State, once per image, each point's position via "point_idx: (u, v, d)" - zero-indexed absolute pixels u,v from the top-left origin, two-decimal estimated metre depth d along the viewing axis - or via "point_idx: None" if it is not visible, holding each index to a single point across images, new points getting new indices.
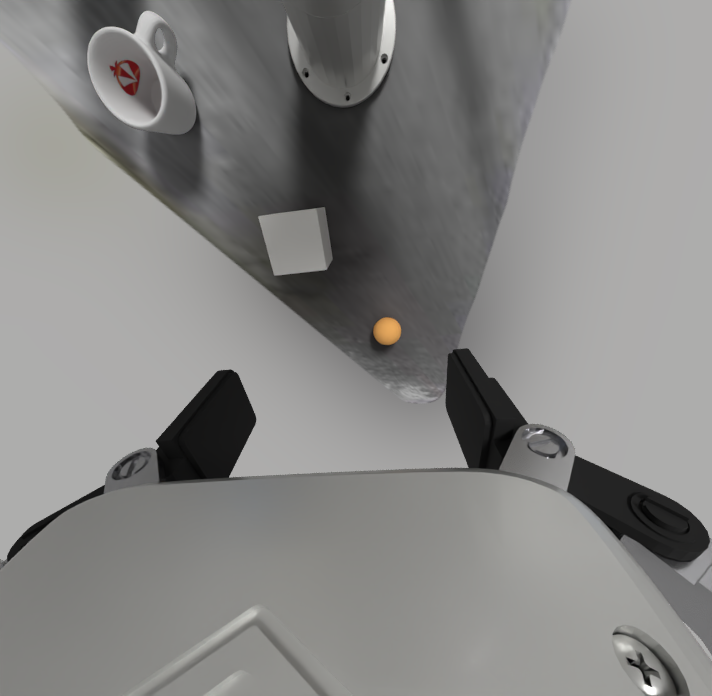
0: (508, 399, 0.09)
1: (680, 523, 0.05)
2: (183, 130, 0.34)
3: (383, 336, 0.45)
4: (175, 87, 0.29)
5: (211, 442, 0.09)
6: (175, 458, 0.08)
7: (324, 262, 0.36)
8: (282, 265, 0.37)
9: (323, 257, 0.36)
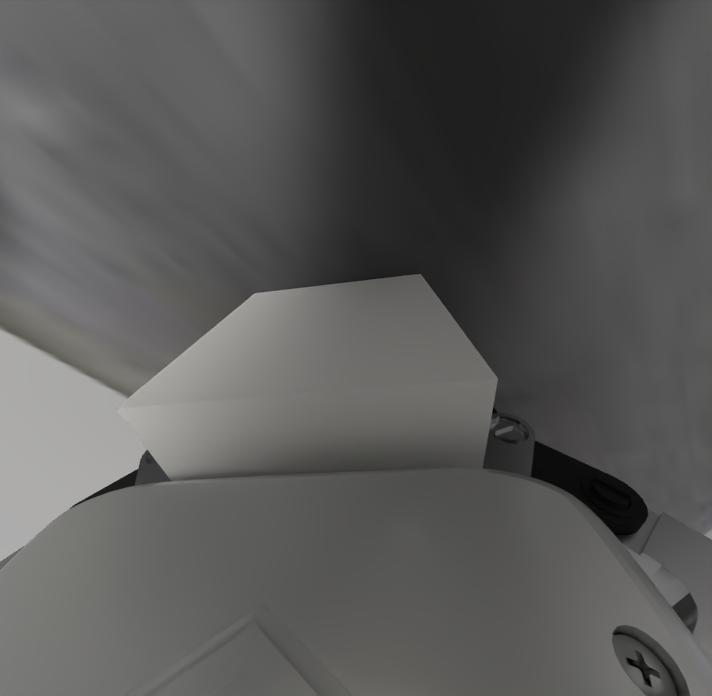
0: None
1: (623, 500, 0.05)
2: None
3: None
4: None
5: None
6: None
7: None
8: None
9: None
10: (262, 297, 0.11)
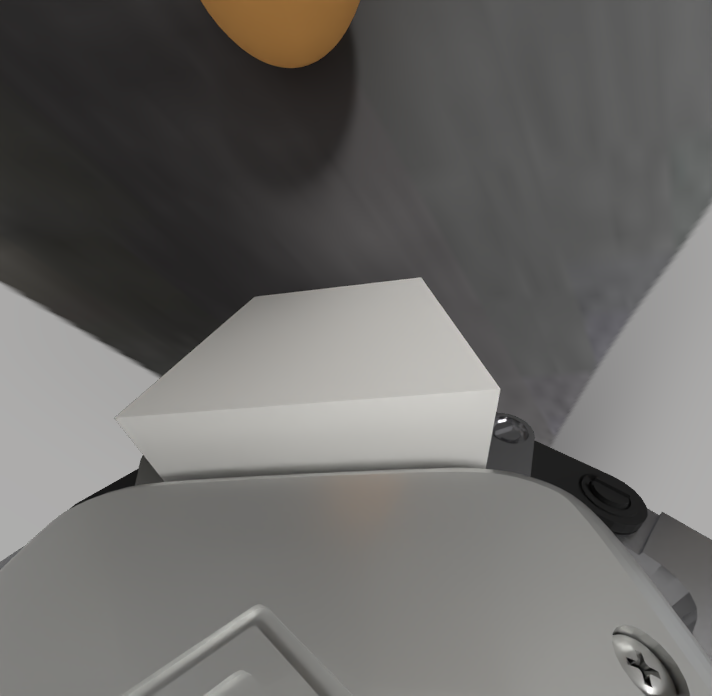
0: None
1: (622, 500, 0.05)
2: None
3: (241, 0, 0.06)
4: None
5: None
6: None
7: None
8: None
9: None
10: (262, 301, 0.11)
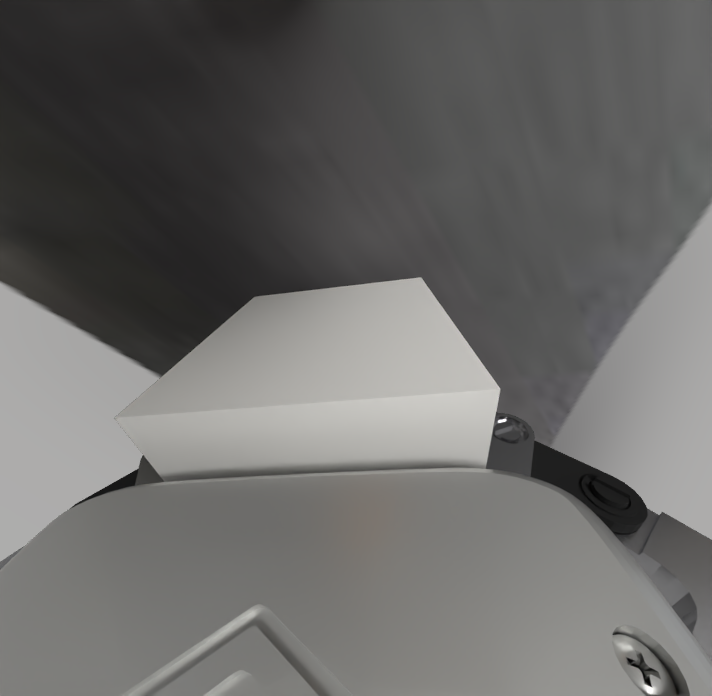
0: None
1: (622, 500, 0.05)
2: None
3: None
4: None
5: None
6: None
7: None
8: None
9: None
10: (262, 301, 0.11)
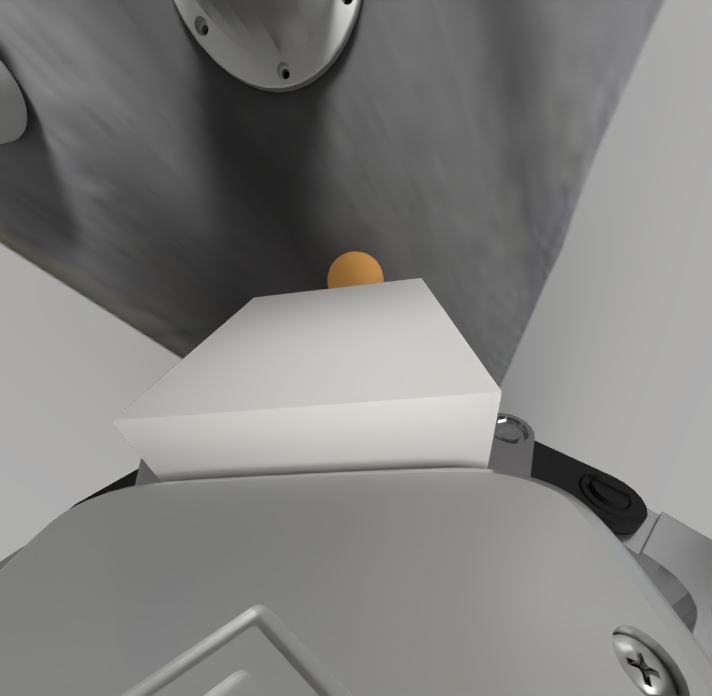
0: None
1: (622, 500, 0.05)
2: None
3: (342, 264, 0.21)
4: None
5: None
6: None
7: None
8: None
9: None
10: (262, 301, 0.11)
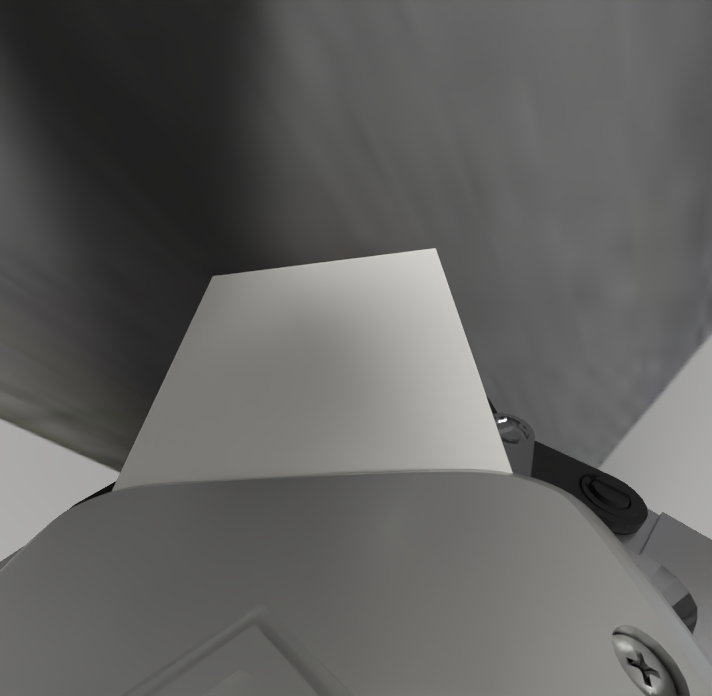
0: None
1: (623, 500, 0.05)
2: None
3: None
4: None
5: None
6: None
7: None
8: None
9: None
10: (225, 290, 0.09)
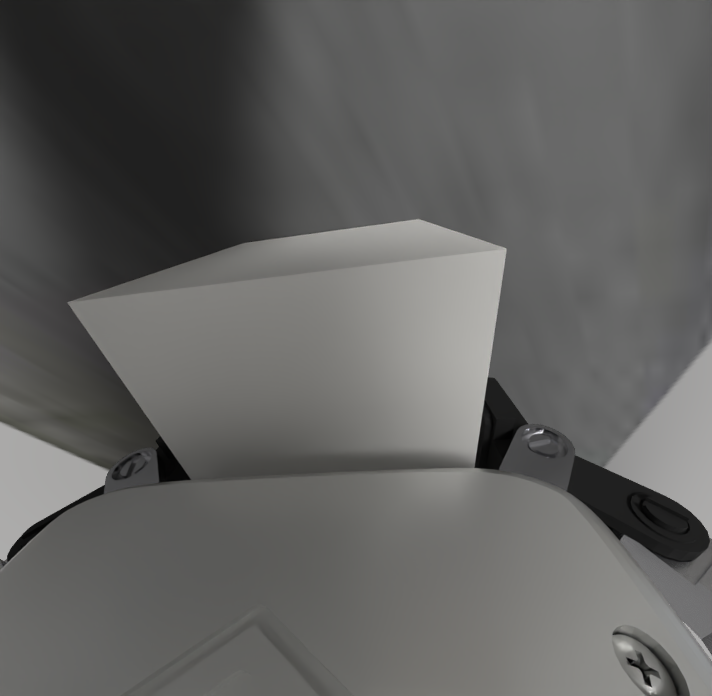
0: (508, 399, 0.09)
1: (680, 523, 0.05)
2: None
3: None
4: None
5: None
6: (175, 458, 0.08)
7: None
8: None
9: None
10: (251, 243, 0.11)
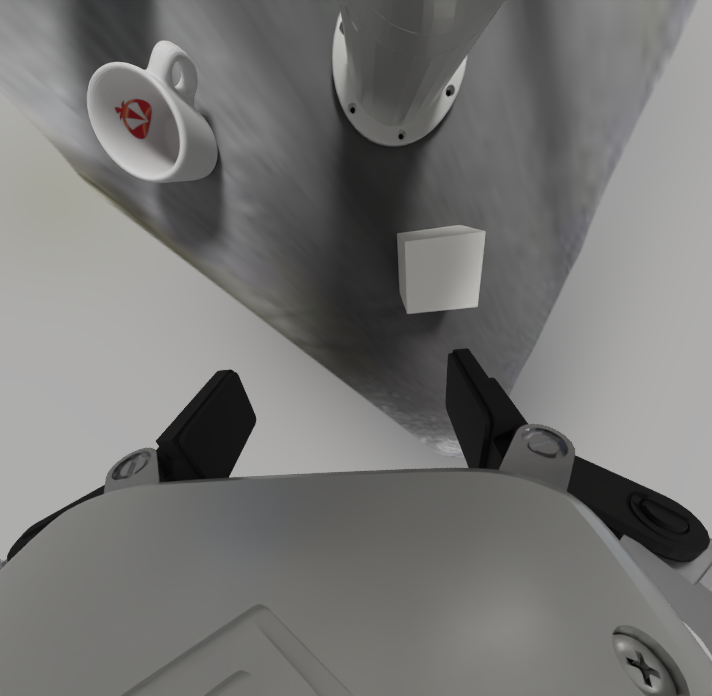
0: (508, 399, 0.09)
1: (680, 523, 0.05)
2: (202, 176, 0.28)
3: None
4: (196, 130, 0.24)
5: (211, 442, 0.09)
6: (175, 458, 0.08)
7: (477, 297, 0.28)
8: (420, 302, 0.29)
9: (477, 291, 0.28)
10: (403, 233, 0.32)
